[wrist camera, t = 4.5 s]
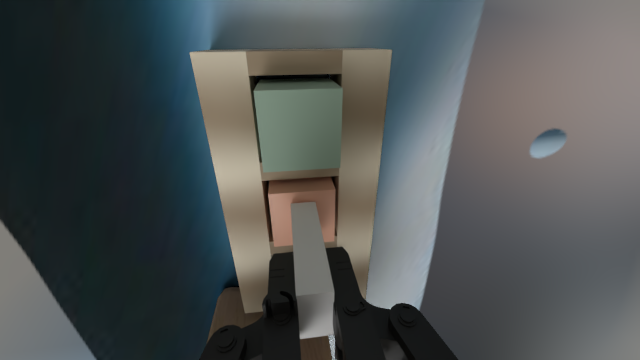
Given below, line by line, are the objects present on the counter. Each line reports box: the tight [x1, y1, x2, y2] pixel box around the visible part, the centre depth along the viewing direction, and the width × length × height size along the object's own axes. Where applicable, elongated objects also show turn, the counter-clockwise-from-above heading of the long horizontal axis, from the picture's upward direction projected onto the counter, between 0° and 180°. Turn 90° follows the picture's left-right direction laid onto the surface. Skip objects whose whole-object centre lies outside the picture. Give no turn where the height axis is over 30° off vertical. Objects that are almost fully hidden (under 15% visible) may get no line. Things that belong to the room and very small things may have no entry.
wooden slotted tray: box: [190, 48, 392, 313], centre depth 19 cm, size 19×10×4 cm, turn 1°
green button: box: [254, 78, 343, 173], centre depth 15 cm, size 4×4×4 cm
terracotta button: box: [268, 176, 335, 247], centre depth 18 cm, size 4×4×4 cm
